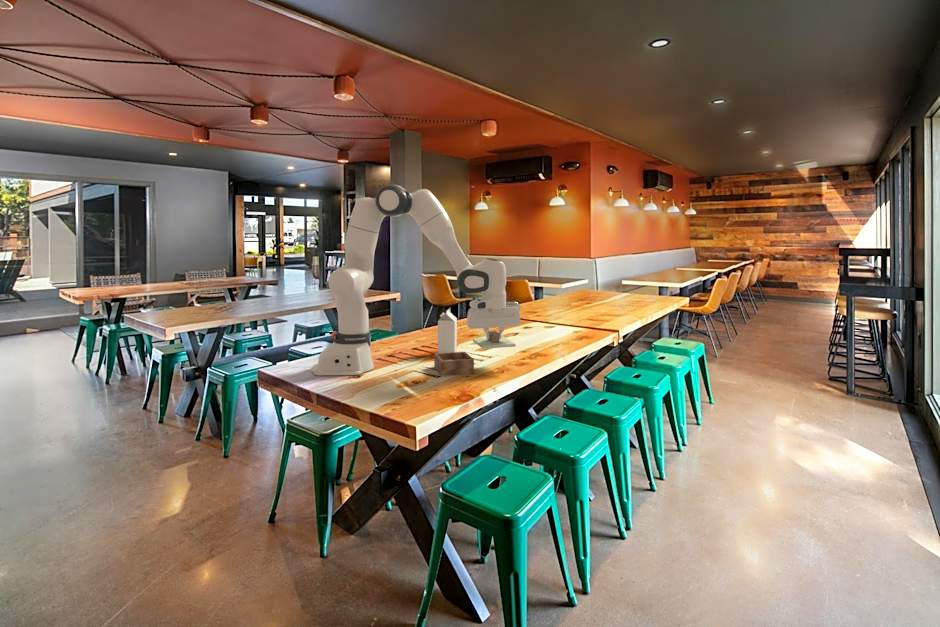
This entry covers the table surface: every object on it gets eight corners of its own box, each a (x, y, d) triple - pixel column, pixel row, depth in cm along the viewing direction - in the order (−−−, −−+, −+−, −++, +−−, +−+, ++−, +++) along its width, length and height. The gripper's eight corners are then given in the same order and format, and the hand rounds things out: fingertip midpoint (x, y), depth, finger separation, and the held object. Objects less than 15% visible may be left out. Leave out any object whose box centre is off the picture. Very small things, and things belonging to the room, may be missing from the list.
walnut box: (441, 377, 175) (441, 361, 174) (434, 368, 186) (434, 353, 185) (473, 375, 178) (473, 359, 177) (464, 366, 190) (464, 351, 189)
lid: (482, 348, 176) (482, 336, 175) (472, 341, 188) (472, 329, 187) (515, 346, 179) (515, 334, 179) (503, 339, 191) (503, 327, 191)
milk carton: (456, 352, 211) (457, 309, 208) (454, 356, 204) (454, 311, 201) (440, 352, 212) (440, 308, 209) (437, 356, 205) (437, 311, 202)
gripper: (517, 300, 187) (516, 335, 189) (465, 302, 181) (465, 338, 184) (523, 302, 181) (522, 339, 183) (470, 304, 175) (470, 342, 178)
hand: (493, 338), depth 183 cm, fingers closed on lid, 2 cm apart
